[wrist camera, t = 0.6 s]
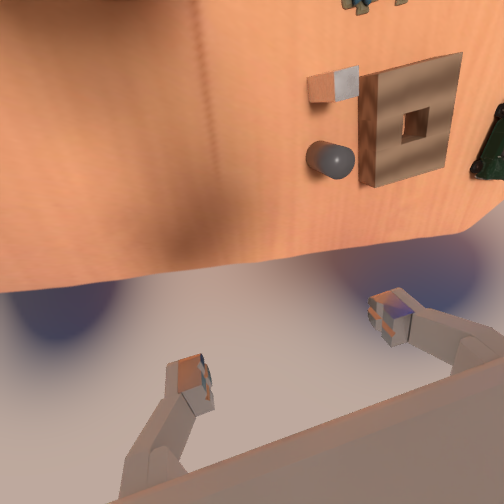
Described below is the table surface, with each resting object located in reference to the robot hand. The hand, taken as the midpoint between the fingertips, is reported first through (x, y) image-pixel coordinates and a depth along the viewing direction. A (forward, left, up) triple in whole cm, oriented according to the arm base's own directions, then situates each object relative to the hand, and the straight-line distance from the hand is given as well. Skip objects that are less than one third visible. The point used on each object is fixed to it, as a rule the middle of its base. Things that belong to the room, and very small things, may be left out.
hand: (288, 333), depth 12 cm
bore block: (+3, +39, -45) cm, 60 cm away
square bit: (-7, +23, -45) cm, 51 cm away
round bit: (+5, +22, -45) cm, 50 cm away
